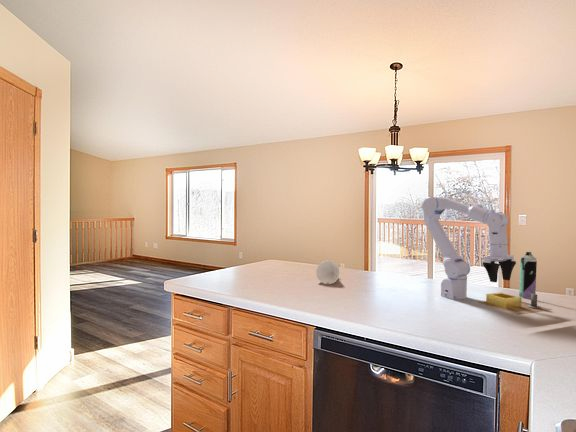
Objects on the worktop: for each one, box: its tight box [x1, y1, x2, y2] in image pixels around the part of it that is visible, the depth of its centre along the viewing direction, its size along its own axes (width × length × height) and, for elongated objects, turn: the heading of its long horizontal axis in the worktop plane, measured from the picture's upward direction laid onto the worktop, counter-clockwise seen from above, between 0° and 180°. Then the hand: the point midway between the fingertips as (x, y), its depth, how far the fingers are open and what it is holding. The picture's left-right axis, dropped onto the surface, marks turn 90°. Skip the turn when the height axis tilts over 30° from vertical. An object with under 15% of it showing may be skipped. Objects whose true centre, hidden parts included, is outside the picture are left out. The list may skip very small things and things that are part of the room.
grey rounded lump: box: [315, 259, 341, 285], centre depth 175 cm, size 12×12×18 cm
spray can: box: [518, 251, 538, 300], centre depth 142 cm, size 6×6×20 cm
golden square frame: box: [485, 292, 522, 309], centre depth 129 cm, size 8×8×4 cm
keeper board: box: [478, 294, 553, 315], centre depth 129 cm, size 18×16×6 cm
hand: (500, 280), depth 128 cm, fingers open, 7 cm apart
